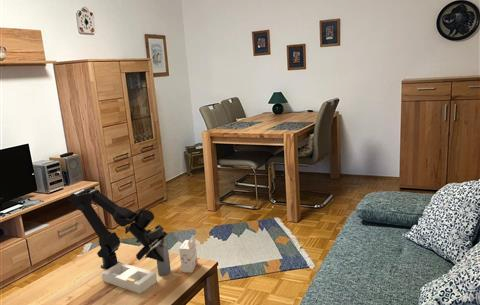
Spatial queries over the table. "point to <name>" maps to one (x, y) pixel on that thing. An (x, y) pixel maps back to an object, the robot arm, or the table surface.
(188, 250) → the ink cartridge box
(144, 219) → the robot arm
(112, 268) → the socket block
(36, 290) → the table surface
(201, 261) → the table surface
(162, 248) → the plug
